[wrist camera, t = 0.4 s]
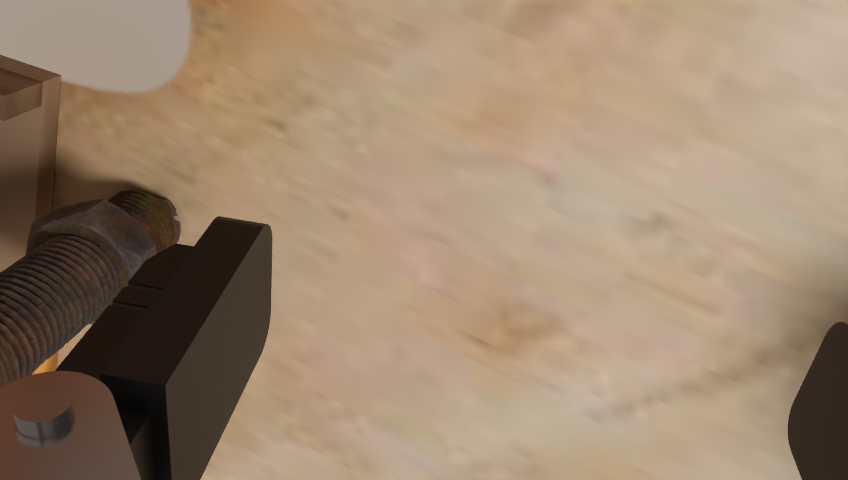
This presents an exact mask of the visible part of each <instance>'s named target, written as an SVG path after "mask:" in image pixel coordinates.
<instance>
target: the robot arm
mask: <svg viewBox="0 0 848 480" xmlns="http://www.w3.org/2000/svg"><path fill="white" fill-rule="evenodd" d="M271 276H272V231H271V227H270V226H269V225H268V224H262V223H256V222H250V221H244V220H238V219H232V218H226V217H220V216H219V217H216V218H215V219H214V220H213V222H212V223H211V224H210V226H209V227H208V228H207V230H206V231H205V232H204V234H203V235H202V236H201V238H200V239H199V240H198V242H197V243H196V244H195V246H194V247H193V246H187V245H181V244H174V245H172V246H170V247H169V248H167V249H165V250H163V251H161V252H160V253H158V254H156V255H154V256H152V257H151V258H149V259H147V260H146V261H145V262H144V263H143V264H142V265H141V267H140V268H139V269H138V270H137V272H136V273H135V274H134V275H133V276H132V278H131V279H130V280H129V281H128V285H127V287H123V289H122V290H121V291H120V292H119V293H118V295H117V296H116V297H115V298H114V300H113V303H112V306H110V305H109V306H108V307H107V308H106V309H105V310H104V312H103V313H102V314H101V315H100V317H99V318H98V319H97V320H96V321H95V323H94V324H93V325H92V326H91V328H90V329H89V330H88V331H87V332H86V334H85V335H84V336H83V337H82V338H81V340H80V341H79V342H78V343H77V345H76V346H75V347H74V348H73V349H72V351H71V352H70V353H69V354H68V356H67V357H66V358H65V359H64V360H63V362H62V363H61V364H60V365H59V366H58V368H57V369H56V370H55V371H51V372H43V373H38V374H33V375H30V376H26V377H23V378H20V379H18V380H15V381H13V382H11V383H9V384H7V385H5V386H3V387H1V388H0V480H200V479H201V477H202V475H203V473H204V471H205V469H206V467H207V465H208V463H209V461H210V458H211V456H212V454H213V452H214V450H215V448H216V446H217V444H218V442H219V440H220V438H221V436H222V434H223V432H224V430H225V428H226V425H227V423H228V421H229V419H230V417H231V415H232V413H233V411H234V409H235V407H236V405H237V403H238V401H239V399H240V397H241V395H242V392H243V390H244V388H245V386H246V384H247V382H248V380H249V378H250V376H251V374H252V372H253V370H254V368H255V366H256V364H257V362H258V359H259V357H260V355H261V353H262V351H263V348H264V345H265V342H266V338H267V334H268V329H269V323H270V315H271ZM788 440H789V445H790V449H791V452H792V454H793V457H794V460H795V462H796V465H797V467H798V470H799V473H800V475H801V478H802V480H848V323H844V322H839V323H836V324H835V325H833V326H832V327H831V328H830V329H829V331H828V332H827V334H826V336H825V338H824V340H823V342H822V344H821V346H820V348H819V350H818V352H817V354H816V356H815V358H814V360H813V363H812V365H811V367H810V369H809V371H808V373H807V375H806V377H805V379H804V381H803V383H802V385H801V387H800V390H799V392H798V394H797V396H796V398H795V400H794V402H793V404H792V407H791V410H790V415H789V421H788Z"/></svg>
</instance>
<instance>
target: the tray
mask: <svg viewBox="0 0 848 480" xmlns="http://www.w3.org/2000/svg"><path fill="white" fill-rule="evenodd" d="M60 84H61V75H59V74H56V73H52V72H50V71H47V70H44V69H41V68H38V67H35V66H32V65H29V64H26V63H23V62H20V61H17V60H14V59H11V58H8V57H5V56H2V55H0V272H2V271H3V270H5V269H6V268H8V267H9V266H11V265H12V264H14V263H15V262H16V261H18V260H19V259H21V258H22V257H24V256H25V255H26V248H27V240H28V236H29V232H30V229H31V225H32V223H33V222H34V221H36V220H38V219H39V218H41V217H42V216H44V215H46V214H47V213H49V212H51V211H52V200H53V185H54V171H55V156H56V142H57V127H58V113H59V98H60ZM57 355H58V351H57V353H55V354H54V355H53V356H51V357H50V358H49V359H47V360H45V362H44V363H43V364H41V365H40V366H39V367H38V369H36V370H35V371H34V373H33V374H38V373H43V372H51V371H55V370H56V368H57ZM33 374H32V375H33Z"/></svg>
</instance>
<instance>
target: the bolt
mask: <svg viewBox="0 0 848 480" xmlns="http://www.w3.org/2000/svg"><path fill="white" fill-rule="evenodd" d="M175 211H176V208H175V207H174V206H173V204H172V203H171V201H170V200H165V199H160V198H157V197H154V196H152V195H151V194H149V193H147V192H142V191H137V190H130V191H120V192H119V193H118V194H117V195H115V196H114V197H112V198H111V199H109V200H108V201H107V200H105V199H100V200H91V201H86V202H81V203H78V204H74V205H70V206H66V207H63V208H60V209H57V210H54V211H51V212H49V213H47V214H46V215H44V216H42V217H41V218H39V219H38V220H36V221H34V222H33V223H32V225H31V229H30V232H29V236H28V240H27V248H26V255H25V256H24V257H22V258H21V259H19V260H18V261H16V262H15V263H14V264H12V265H11V266H9V267H8V268H6V269H5V270H3V271H2V272H0V388H1V387H3V386H5V385H7V384H9V383H11V382H13V381H15V380H18V379H20V378H23V377H26V376H30V375H32V374H33V373H34V371H35V370H36V369H38V367H39V366H40V365H41V364H43V363H44V362H45V360H47V359H49V358H50V357H51V356H53V355H54V354H55V353H57V351H58V350H60V349H61V348H62V347H63V346H64V345H65V344H66V343H68V342H69V341H70V340H71V339H72V338H73V337H74V336H75V335H76V334H78V333H79V332H80V331H81V330H82V329H83V328H84V327H85V326H86V325H88V324H94V323H95V321H96V320H97V319H98V318H99V317H100V315H101V314H102V313H103V312H104V310H105V309H106V308H107V307H108V306H109V305H110V306H112V303H113V300H114V298H115V297H116V296H117V295H118V293H119V292H120V291H121V290H122V289H123V287H127V285H128V281H129V280H130V279H131V278H132V276H133V275H134V274H135V273H136V272H137V270H138V269H139V268H140V267H141V265H142V264H143V263H144V262H145V261H146V260H147V259H149V258H151V257H152V256H154V255H156V254H158V253H160V252H161V251H163V250H165V249H167V248H169V247H170V246H172V245H174V244H177V242H178V240H179V237H180V222H179V221H178V222H177V221H175V220H172V218H173V216H178V215H177V213H176V212H175Z"/></svg>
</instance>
